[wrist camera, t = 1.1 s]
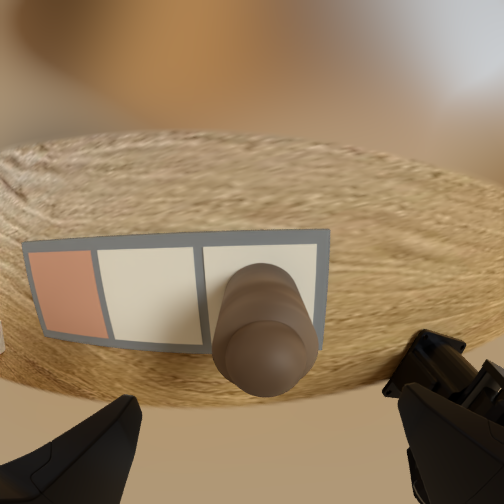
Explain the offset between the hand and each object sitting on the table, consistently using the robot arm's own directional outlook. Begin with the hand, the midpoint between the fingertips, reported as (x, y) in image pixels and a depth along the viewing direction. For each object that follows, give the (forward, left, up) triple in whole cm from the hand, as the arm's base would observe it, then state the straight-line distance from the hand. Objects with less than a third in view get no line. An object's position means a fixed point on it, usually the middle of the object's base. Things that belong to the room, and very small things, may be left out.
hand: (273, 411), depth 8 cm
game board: (+7, +3, -9) cm, 12 cm away
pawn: (0, 0, -9) cm, 9 cm away
